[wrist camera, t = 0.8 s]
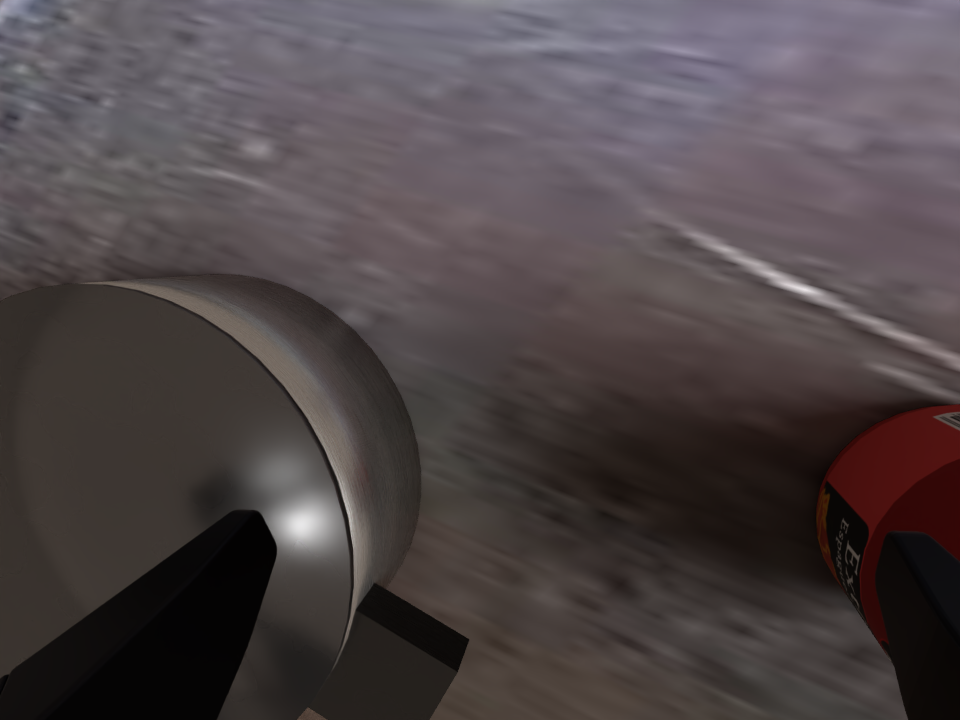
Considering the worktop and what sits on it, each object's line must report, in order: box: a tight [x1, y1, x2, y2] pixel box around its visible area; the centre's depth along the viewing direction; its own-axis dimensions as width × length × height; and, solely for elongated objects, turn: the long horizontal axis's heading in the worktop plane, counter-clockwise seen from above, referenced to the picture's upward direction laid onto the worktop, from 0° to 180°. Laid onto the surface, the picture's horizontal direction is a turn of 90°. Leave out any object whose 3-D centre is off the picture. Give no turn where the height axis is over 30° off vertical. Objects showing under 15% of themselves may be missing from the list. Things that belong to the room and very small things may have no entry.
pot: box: [0, 274, 469, 720], centre depth 23 cm, size 23×16×7 cm
